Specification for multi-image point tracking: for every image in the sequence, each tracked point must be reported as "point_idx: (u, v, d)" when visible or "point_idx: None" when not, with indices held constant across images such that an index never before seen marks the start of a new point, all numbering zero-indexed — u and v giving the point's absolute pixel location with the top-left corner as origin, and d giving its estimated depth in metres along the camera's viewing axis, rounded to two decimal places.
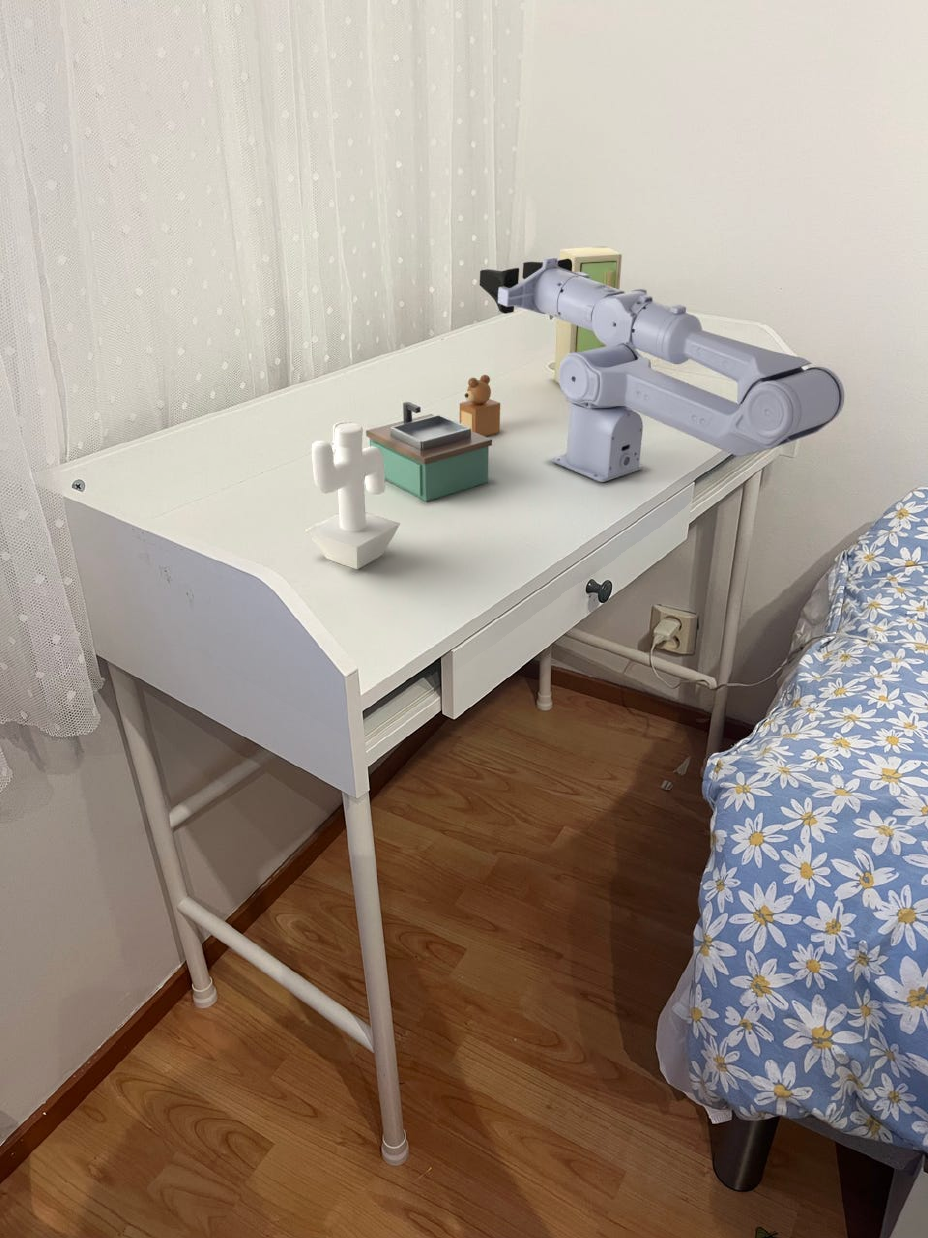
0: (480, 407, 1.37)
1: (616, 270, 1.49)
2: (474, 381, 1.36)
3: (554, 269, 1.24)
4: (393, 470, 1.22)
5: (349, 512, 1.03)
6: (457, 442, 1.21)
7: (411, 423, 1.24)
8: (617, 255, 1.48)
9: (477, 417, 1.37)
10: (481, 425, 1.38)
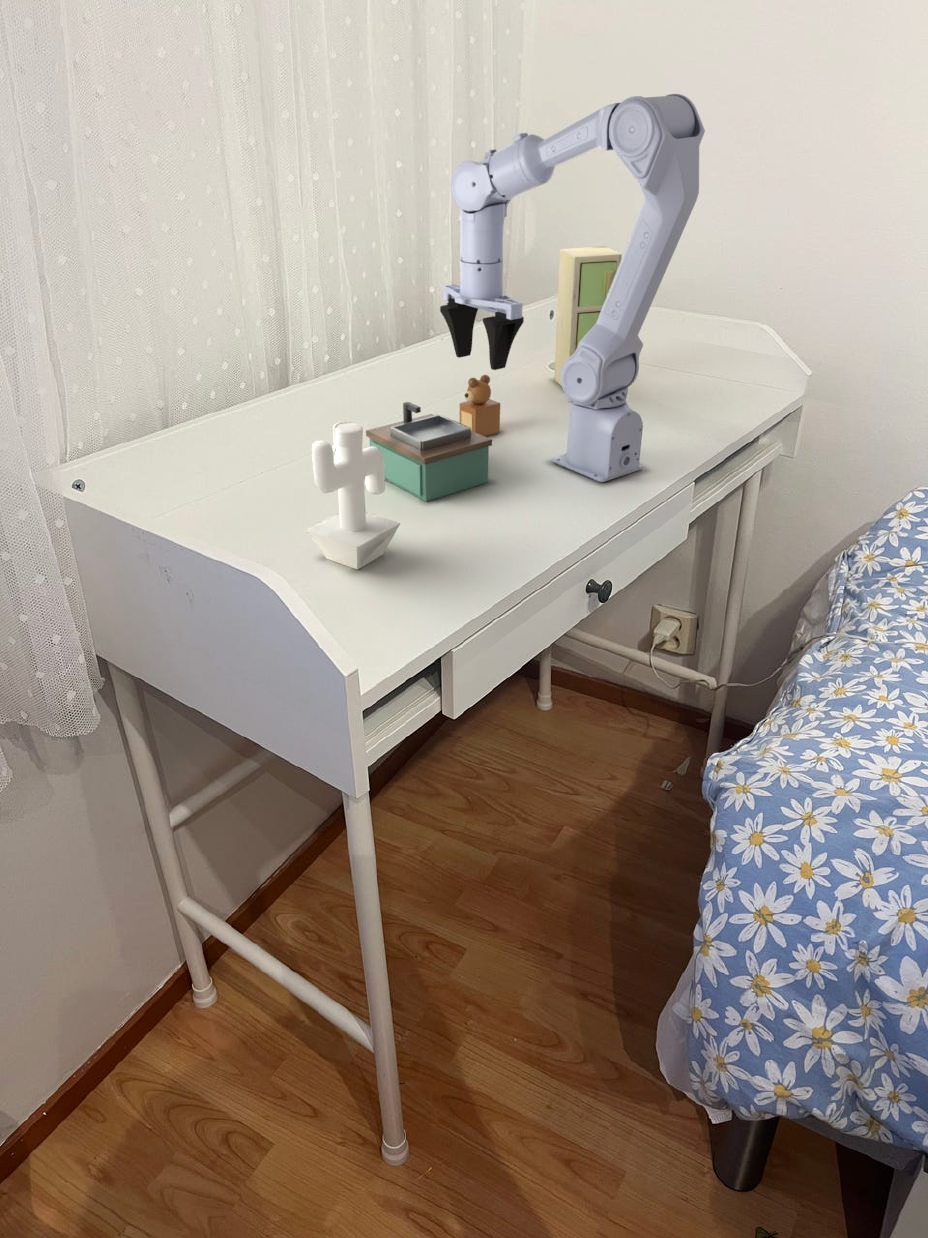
0: (480, 407, 1.37)
1: (616, 270, 1.49)
2: (474, 381, 1.36)
3: (465, 291, 1.29)
4: (393, 470, 1.22)
5: (349, 512, 1.03)
6: (457, 442, 1.21)
7: (411, 423, 1.24)
8: (617, 255, 1.48)
9: (477, 417, 1.37)
10: (481, 425, 1.38)
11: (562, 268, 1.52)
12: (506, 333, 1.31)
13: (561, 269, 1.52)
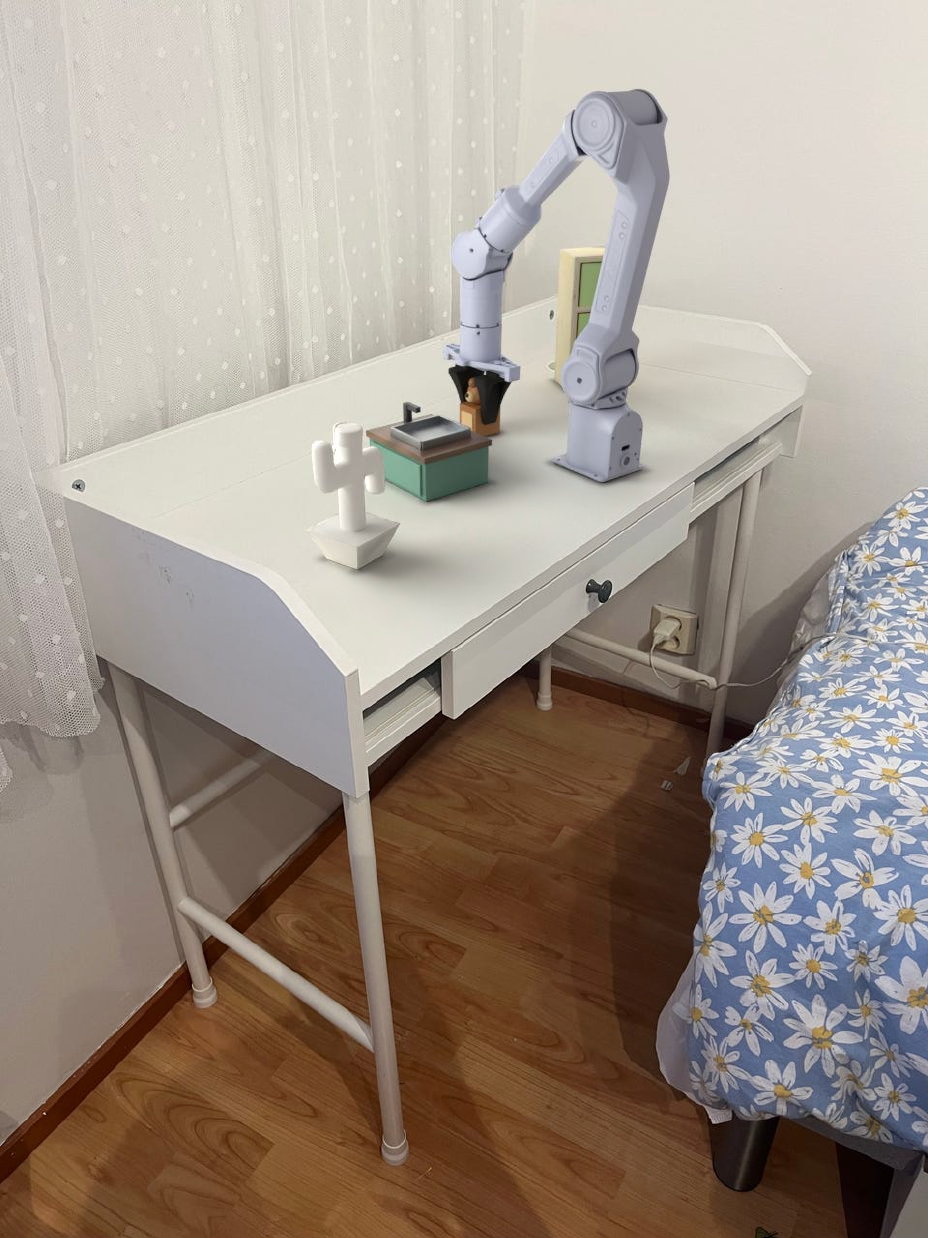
0: None
1: None
2: (474, 381, 1.36)
3: (465, 353, 1.33)
4: (393, 470, 1.22)
5: (349, 512, 1.03)
6: (457, 442, 1.21)
7: (411, 423, 1.24)
8: None
9: (478, 417, 1.37)
10: (481, 425, 1.38)
11: (562, 268, 1.52)
12: (497, 390, 1.36)
13: (561, 269, 1.52)
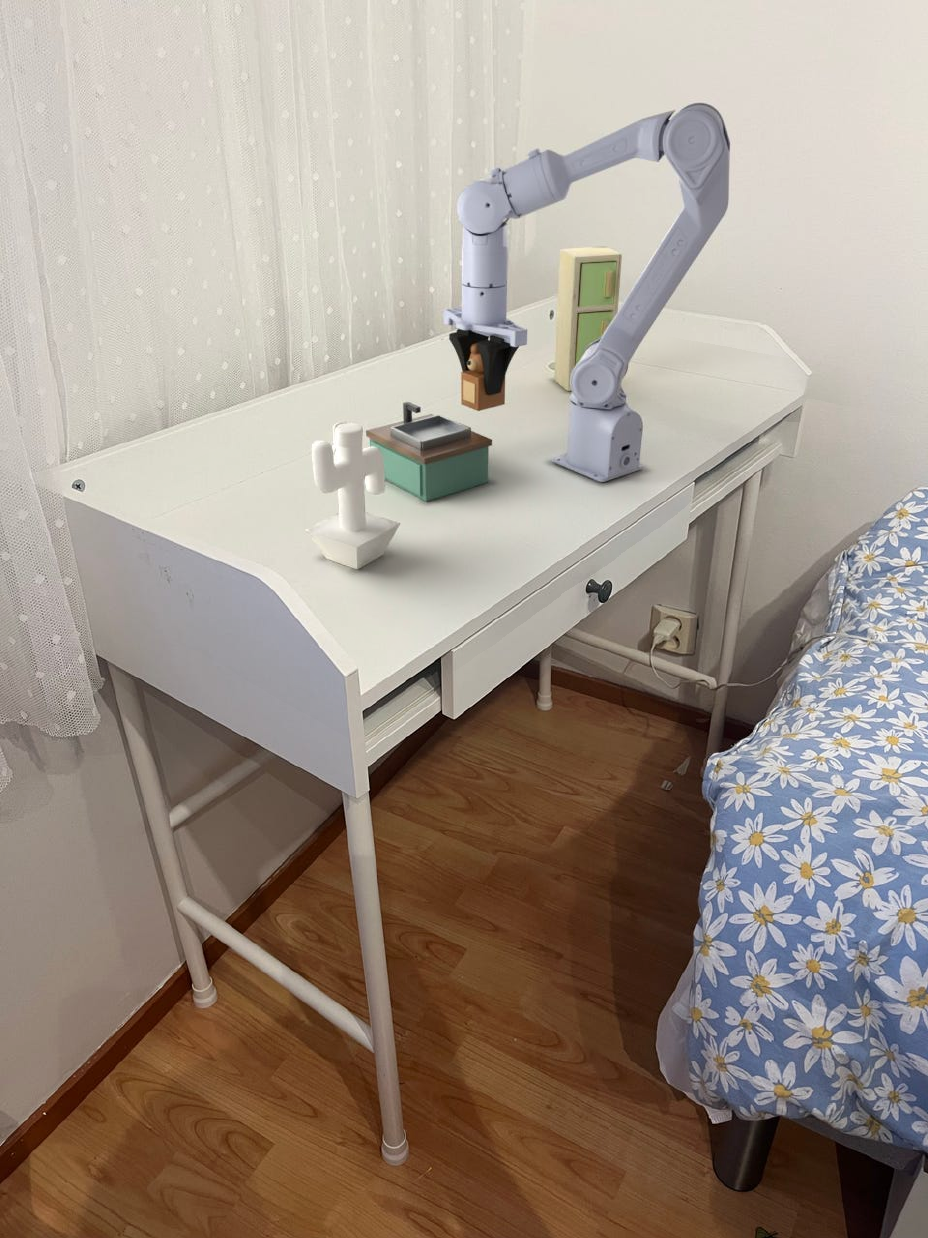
0: (483, 376, 1.26)
1: (616, 270, 1.49)
2: (477, 347, 1.25)
3: (467, 317, 1.22)
4: (393, 470, 1.22)
5: (349, 512, 1.03)
6: (457, 442, 1.21)
7: (411, 423, 1.24)
8: (617, 255, 1.48)
9: (481, 386, 1.26)
10: (484, 395, 1.27)
11: (562, 268, 1.52)
12: (502, 357, 1.25)
13: (561, 269, 1.52)
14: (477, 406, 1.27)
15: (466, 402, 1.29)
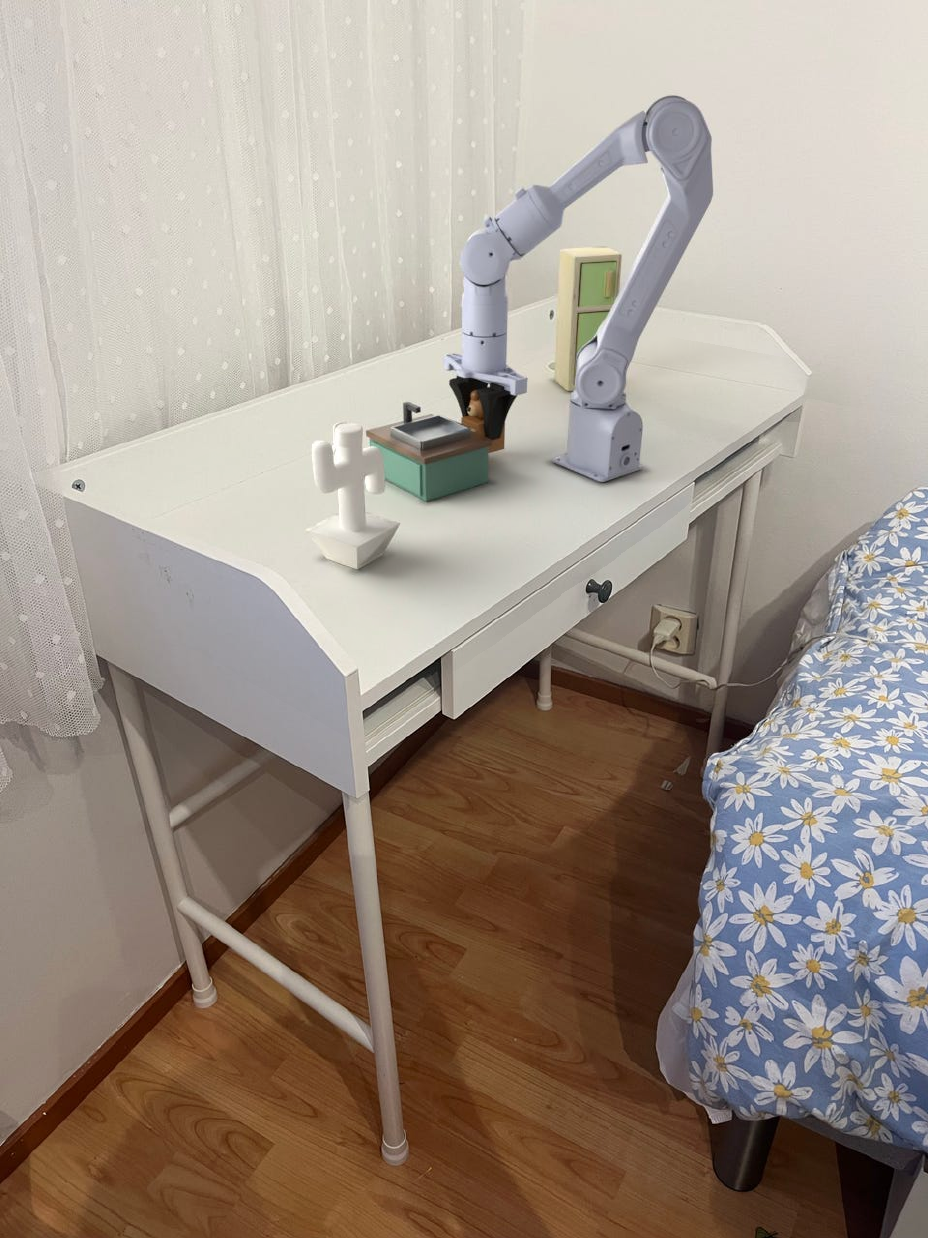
0: (483, 422, 1.27)
1: (616, 270, 1.49)
2: (477, 394, 1.26)
3: (467, 364, 1.23)
4: (393, 470, 1.22)
5: (349, 512, 1.03)
6: (457, 442, 1.21)
7: (411, 423, 1.24)
8: (617, 255, 1.48)
9: (481, 432, 1.27)
10: None
11: (562, 268, 1.52)
12: (502, 403, 1.26)
13: (561, 269, 1.52)
14: None
15: None
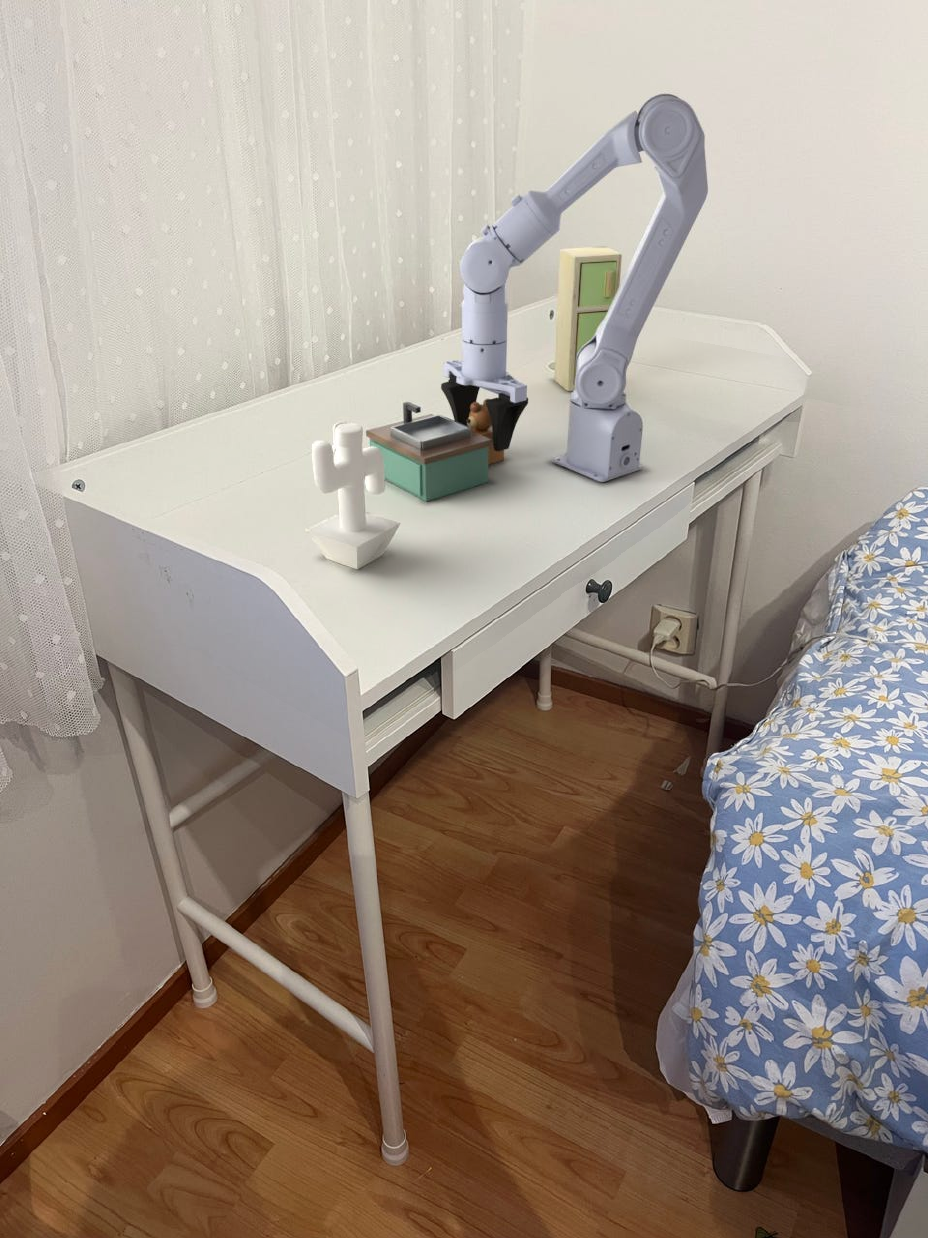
0: (483, 433, 1.28)
1: (616, 270, 1.49)
2: (477, 406, 1.26)
3: (467, 372, 1.24)
4: (393, 470, 1.22)
5: (349, 512, 1.03)
6: (457, 442, 1.21)
7: (411, 423, 1.24)
8: (617, 255, 1.48)
9: None
10: None
11: (562, 268, 1.52)
12: (510, 414, 1.25)
13: (561, 269, 1.52)
14: None
15: None
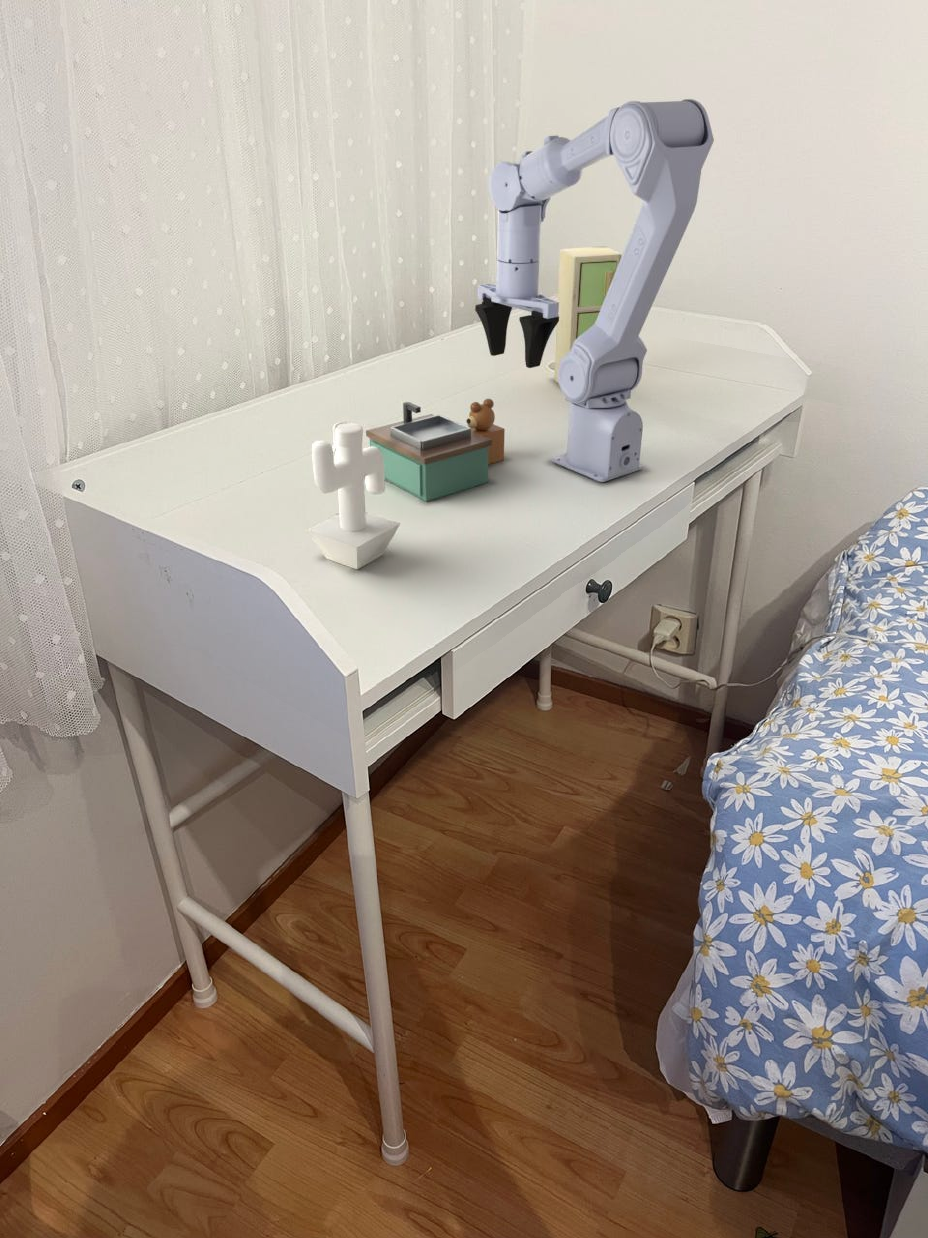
0: (483, 433, 1.28)
1: None
2: (477, 406, 1.26)
3: (502, 291, 1.31)
4: (393, 470, 1.22)
5: (349, 512, 1.03)
6: (457, 442, 1.21)
7: (411, 423, 1.24)
8: (617, 255, 1.48)
9: None
10: None
11: (562, 268, 1.52)
12: (542, 331, 1.33)
13: (561, 269, 1.52)
14: None
15: None
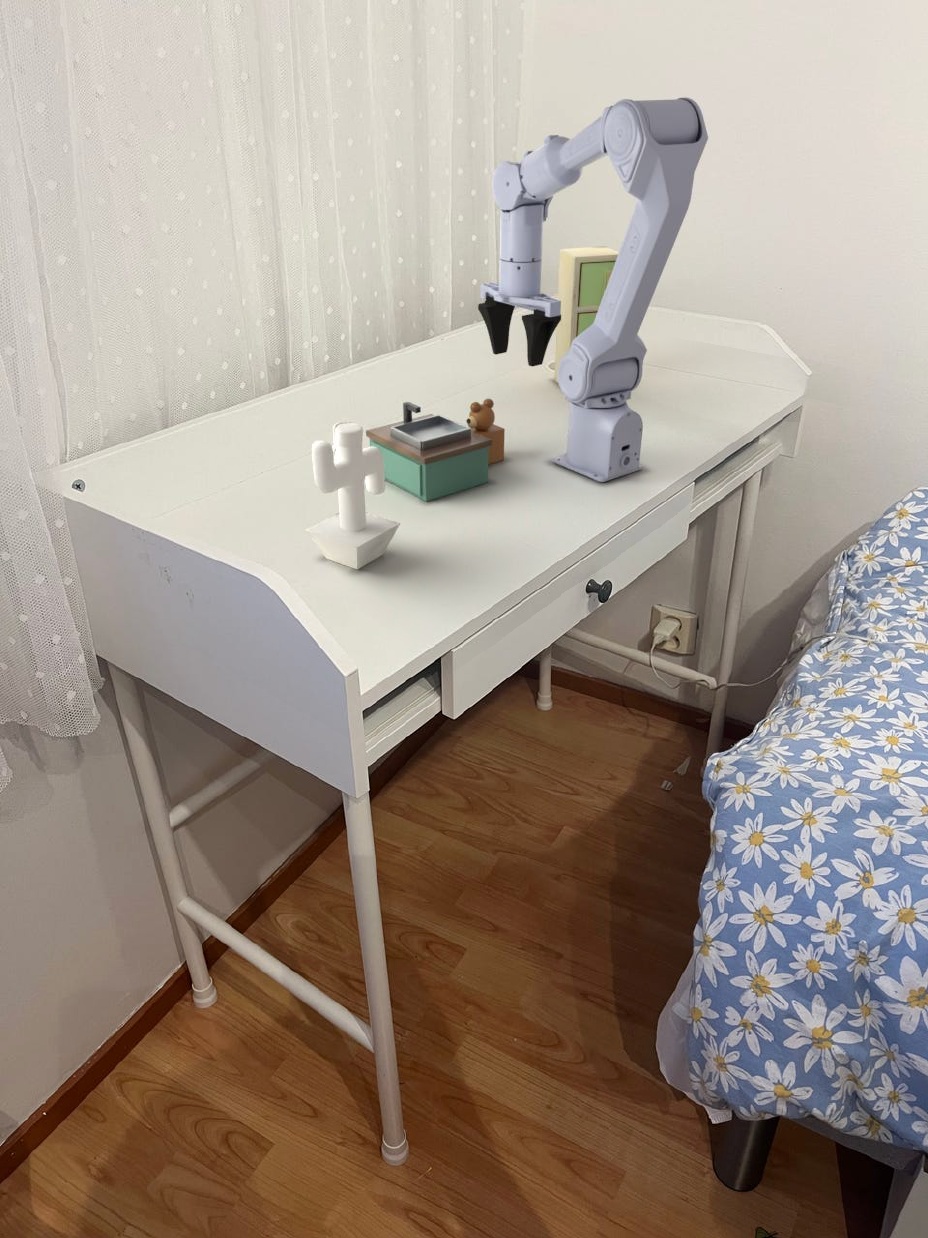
0: (483, 433, 1.28)
1: None
2: (477, 406, 1.26)
3: (504, 289, 1.32)
4: (393, 470, 1.22)
5: (349, 512, 1.03)
6: (457, 442, 1.21)
7: (411, 423, 1.24)
8: (617, 255, 1.48)
9: None
10: None
11: (562, 268, 1.52)
12: (544, 330, 1.34)
13: (561, 269, 1.52)
14: None
15: None
